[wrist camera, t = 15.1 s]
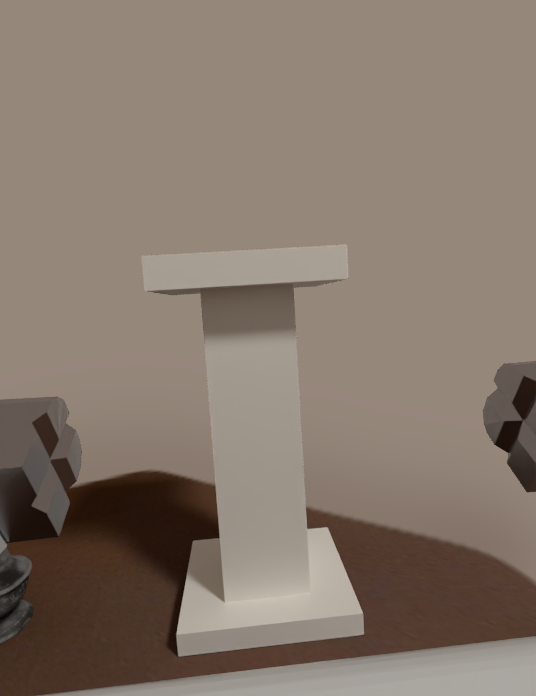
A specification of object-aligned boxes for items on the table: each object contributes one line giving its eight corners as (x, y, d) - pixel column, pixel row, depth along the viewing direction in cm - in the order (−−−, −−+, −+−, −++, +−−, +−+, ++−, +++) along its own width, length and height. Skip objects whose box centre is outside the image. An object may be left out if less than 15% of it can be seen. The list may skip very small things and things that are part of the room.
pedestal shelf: (178, 656, 28) (141, 255, 25) (194, 556, 39) (169, 270, 36) (363, 634, 28) (347, 244, 26) (328, 543, 39) (313, 262, 37)
